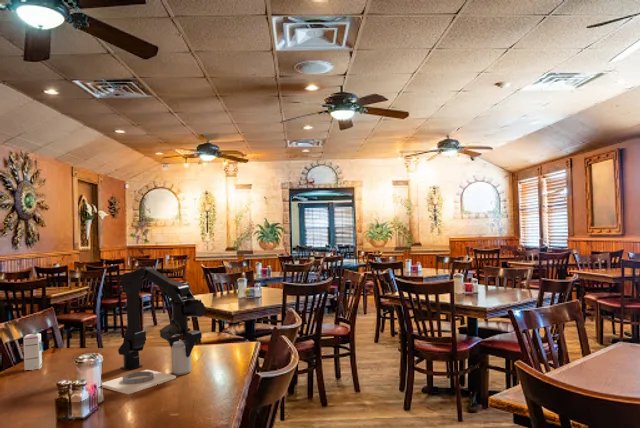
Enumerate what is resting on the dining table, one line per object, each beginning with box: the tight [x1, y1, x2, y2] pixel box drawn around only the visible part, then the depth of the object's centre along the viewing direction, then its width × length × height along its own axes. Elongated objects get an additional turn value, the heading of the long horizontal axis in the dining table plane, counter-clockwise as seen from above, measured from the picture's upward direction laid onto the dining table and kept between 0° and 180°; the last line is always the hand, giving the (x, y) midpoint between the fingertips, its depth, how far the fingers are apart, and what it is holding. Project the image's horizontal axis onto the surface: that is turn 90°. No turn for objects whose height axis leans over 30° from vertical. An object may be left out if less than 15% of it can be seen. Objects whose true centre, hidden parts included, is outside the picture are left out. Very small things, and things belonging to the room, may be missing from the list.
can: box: [170, 340, 192, 376], centre depth 187 cm, size 8×8×12 cm
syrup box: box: [23, 332, 43, 371], centre depth 203 cm, size 6×6×14 cm
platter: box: [101, 369, 177, 395], centre depth 177 cm, size 18×20×2 cm
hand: (181, 355), depth 187 cm, fingers closed on can, 7 cm apart
